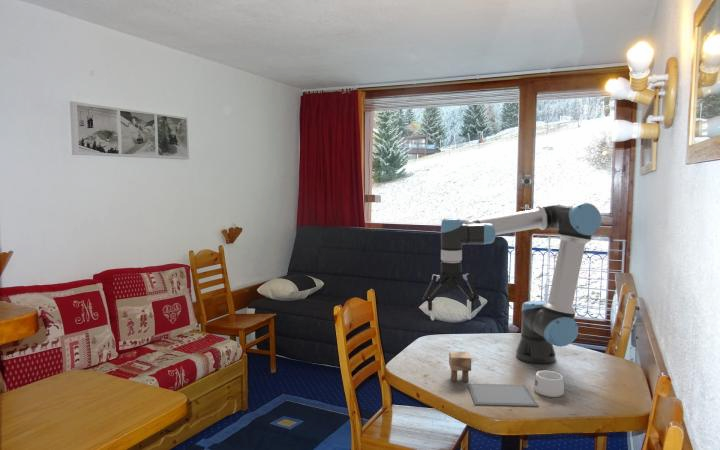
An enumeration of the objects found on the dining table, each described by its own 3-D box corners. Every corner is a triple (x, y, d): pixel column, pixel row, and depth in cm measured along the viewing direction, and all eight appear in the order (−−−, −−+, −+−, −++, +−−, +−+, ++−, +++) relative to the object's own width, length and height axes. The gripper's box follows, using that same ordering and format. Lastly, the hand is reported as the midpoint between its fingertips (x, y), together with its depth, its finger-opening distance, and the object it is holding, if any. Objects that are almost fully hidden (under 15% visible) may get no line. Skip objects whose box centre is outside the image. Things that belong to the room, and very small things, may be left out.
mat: (524, 386, 174) (524, 384, 174) (538, 406, 158) (538, 405, 158) (467, 384, 176) (467, 383, 176) (475, 405, 160) (475, 403, 160)
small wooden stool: (467, 375, 184) (468, 351, 183) (470, 383, 177) (471, 358, 176) (448, 375, 184) (449, 351, 184) (451, 382, 177) (451, 357, 177)
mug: (568, 398, 165) (568, 381, 164) (538, 397, 166) (538, 380, 165) (557, 384, 177) (557, 367, 176) (529, 383, 177) (529, 366, 177)
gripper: (481, 258, 184) (480, 314, 186) (415, 260, 182) (414, 316, 184) (488, 262, 177) (487, 320, 179) (419, 263, 175) (419, 322, 177)
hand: (450, 318), depth 181 cm, fingers open, 13 cm apart
